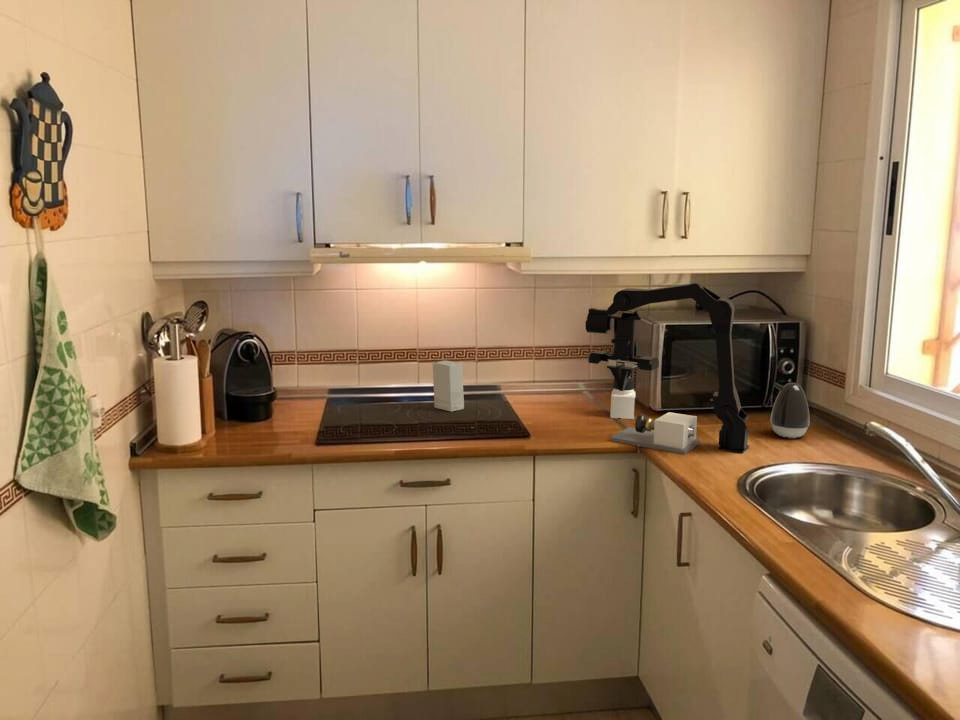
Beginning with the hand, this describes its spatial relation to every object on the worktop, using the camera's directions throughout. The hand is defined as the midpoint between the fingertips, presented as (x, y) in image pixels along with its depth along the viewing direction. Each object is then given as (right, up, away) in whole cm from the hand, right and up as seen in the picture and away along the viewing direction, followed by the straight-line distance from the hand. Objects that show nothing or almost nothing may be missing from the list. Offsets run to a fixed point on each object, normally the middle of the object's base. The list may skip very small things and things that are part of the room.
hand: (621, 390), depth 222 cm
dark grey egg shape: (+47, -13, +3) cm, 49 cm away
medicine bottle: (+4, -9, +23) cm, 25 cm away
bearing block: (+9, -14, -3) cm, 17 cm away
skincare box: (-49, -7, +31) cm, 59 cm away
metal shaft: (+11, -12, -5) cm, 17 cm away
